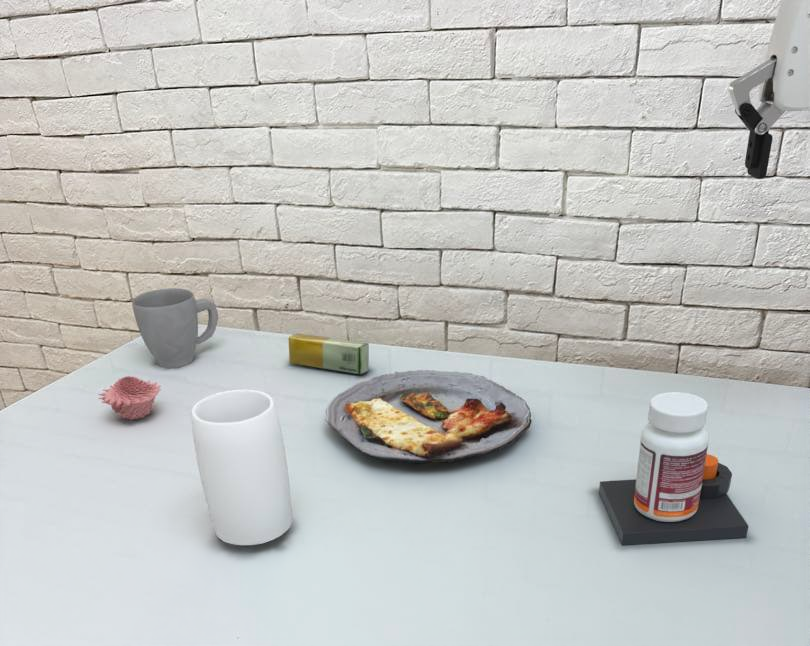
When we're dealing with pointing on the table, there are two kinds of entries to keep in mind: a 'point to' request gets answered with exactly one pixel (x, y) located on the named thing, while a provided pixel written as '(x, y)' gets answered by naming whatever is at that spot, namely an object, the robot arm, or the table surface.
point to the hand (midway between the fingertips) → (804, 173)
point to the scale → (706, 524)
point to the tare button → (710, 467)
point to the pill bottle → (672, 457)
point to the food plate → (428, 416)
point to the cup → (242, 466)
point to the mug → (172, 324)
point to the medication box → (329, 353)
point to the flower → (131, 397)
